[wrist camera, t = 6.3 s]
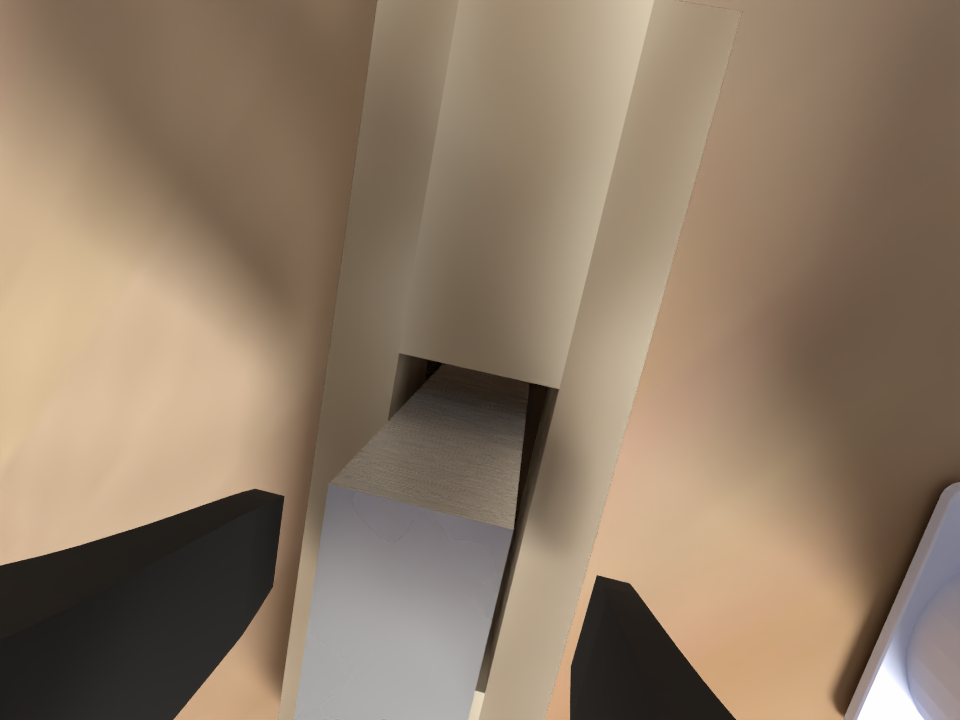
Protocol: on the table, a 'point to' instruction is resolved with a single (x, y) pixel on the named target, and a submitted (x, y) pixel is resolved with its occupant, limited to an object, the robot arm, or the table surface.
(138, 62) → the table surface
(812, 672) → the table surface
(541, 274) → the post beam
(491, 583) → the rectangular metal block
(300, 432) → the table surface
